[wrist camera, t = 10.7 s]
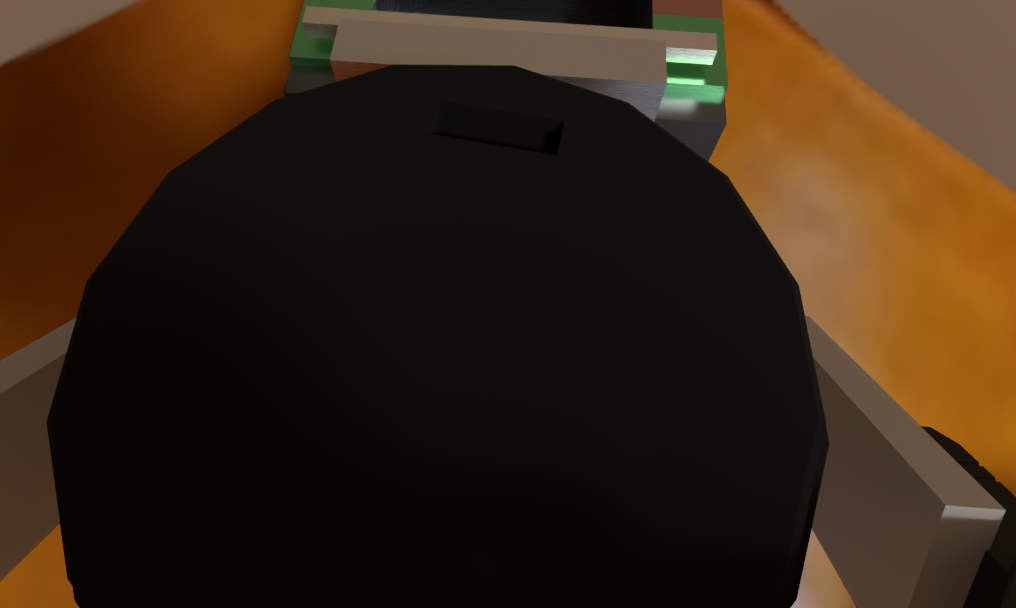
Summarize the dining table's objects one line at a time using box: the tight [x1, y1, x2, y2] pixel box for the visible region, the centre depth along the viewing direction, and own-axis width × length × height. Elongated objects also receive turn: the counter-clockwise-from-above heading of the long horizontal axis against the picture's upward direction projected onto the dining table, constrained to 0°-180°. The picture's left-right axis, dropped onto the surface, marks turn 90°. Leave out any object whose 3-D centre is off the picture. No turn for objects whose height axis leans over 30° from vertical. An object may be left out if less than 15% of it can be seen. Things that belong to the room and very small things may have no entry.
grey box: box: [284, 0, 728, 161], centre depth 22 cm, size 12×12×8 cm
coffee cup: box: [46, 64, 829, 608], centre depth 14 cm, size 11×11×12 cm
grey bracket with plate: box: [302, 6, 717, 121], centre depth 19 cm, size 6×11×8 cm, turn 85°
